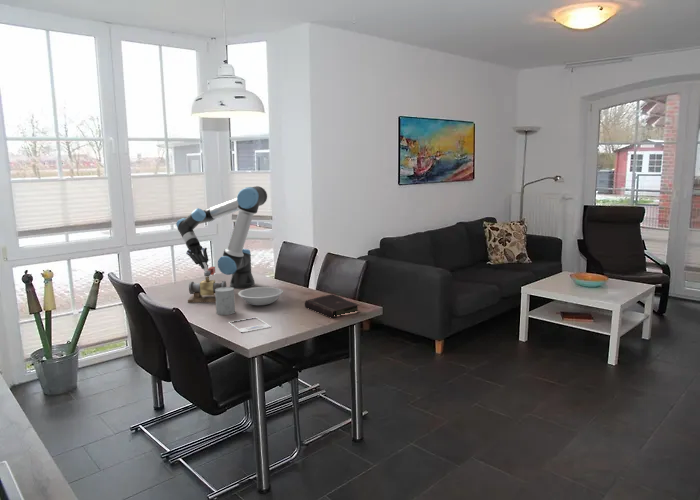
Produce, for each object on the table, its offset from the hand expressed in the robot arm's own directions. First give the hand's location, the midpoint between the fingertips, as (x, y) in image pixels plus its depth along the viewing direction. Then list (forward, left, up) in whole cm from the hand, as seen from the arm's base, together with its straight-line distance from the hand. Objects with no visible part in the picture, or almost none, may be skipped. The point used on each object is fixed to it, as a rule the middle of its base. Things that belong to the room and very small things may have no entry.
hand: (207, 272), depth 300 cm
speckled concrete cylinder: (-18, +37, -13) cm, 43 cm away
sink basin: (-34, +22, -13) cm, 42 cm away
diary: (-73, +36, -14) cm, 82 cm away
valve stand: (-3, +12, -13) cm, 18 cm away
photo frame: (-34, +59, -14) cm, 69 cm away
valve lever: (-3, +6, -1) cm, 6 cm away
